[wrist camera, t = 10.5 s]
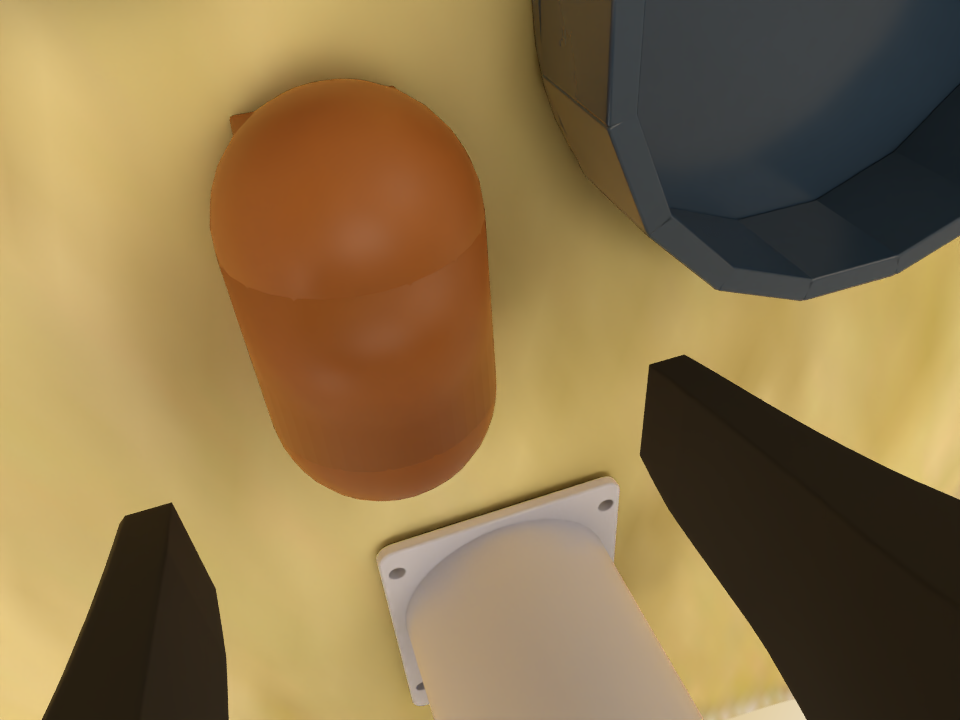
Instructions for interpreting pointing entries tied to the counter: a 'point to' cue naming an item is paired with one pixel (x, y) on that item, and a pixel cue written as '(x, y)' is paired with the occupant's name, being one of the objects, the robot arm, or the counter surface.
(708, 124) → the pot
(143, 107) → the counter surface
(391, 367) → the orange capsule
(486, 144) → the counter surface
